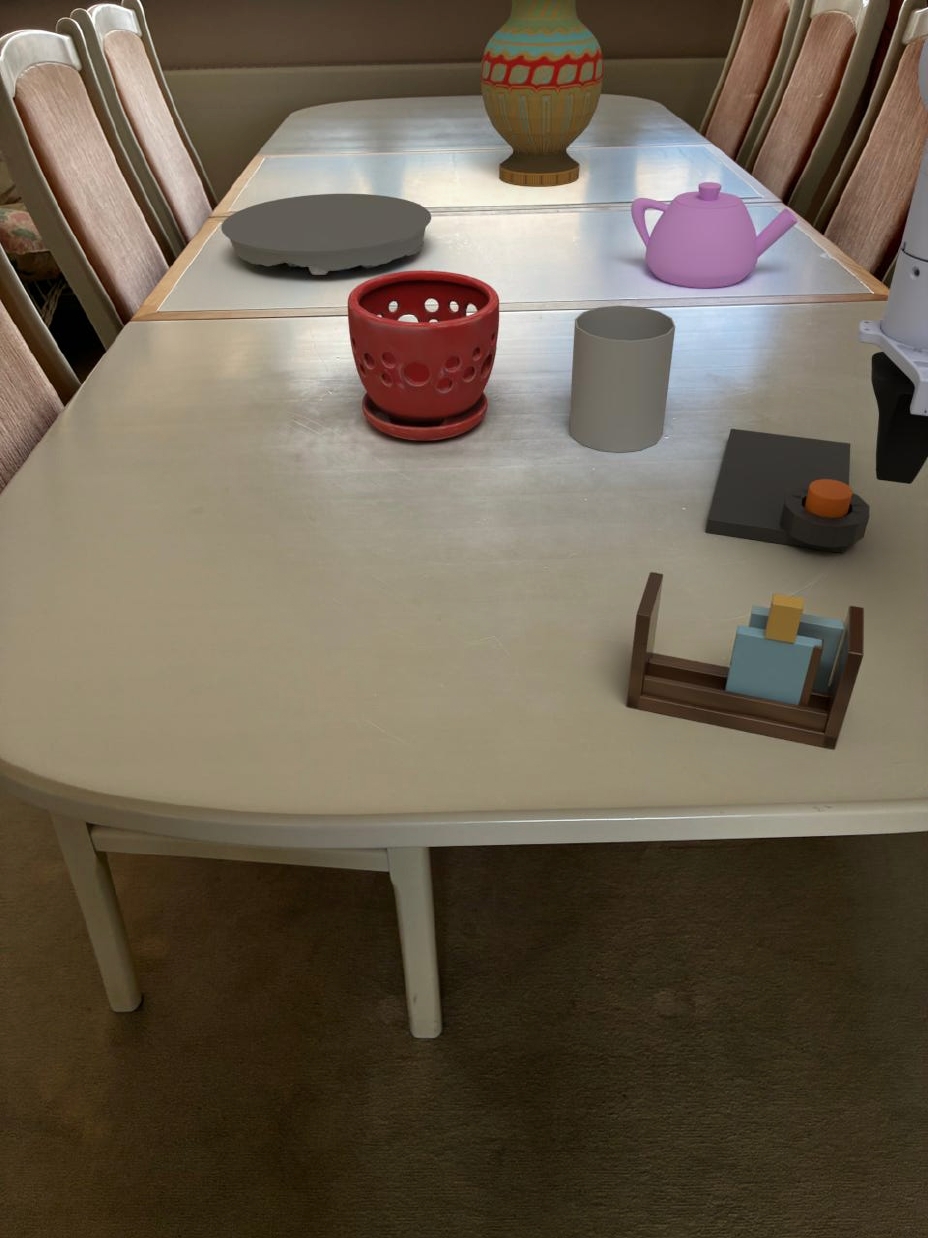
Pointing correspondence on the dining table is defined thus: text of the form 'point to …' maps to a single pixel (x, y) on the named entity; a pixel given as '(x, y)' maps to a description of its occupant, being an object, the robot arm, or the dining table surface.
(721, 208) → the teapot
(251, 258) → the flat disc
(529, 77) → the vase
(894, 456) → the robot arm
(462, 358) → the flower pot
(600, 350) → the cup
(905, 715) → the dining table surface
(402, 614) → the dining table surface
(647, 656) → the brown wooden rack
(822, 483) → the button
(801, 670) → the pane
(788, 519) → the button block
